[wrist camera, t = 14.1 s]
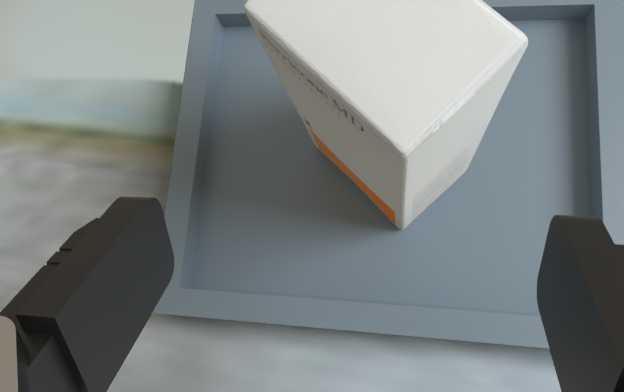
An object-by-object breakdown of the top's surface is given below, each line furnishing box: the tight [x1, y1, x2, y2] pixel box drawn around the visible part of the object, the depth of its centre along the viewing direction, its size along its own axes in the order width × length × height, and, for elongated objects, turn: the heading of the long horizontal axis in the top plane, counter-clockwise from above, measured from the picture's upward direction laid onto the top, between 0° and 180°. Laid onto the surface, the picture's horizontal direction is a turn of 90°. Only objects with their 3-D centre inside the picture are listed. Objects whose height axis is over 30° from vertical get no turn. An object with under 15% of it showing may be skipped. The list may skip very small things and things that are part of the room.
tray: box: [152, 0, 624, 349], centre depth 24 cm, size 20×16×2 cm
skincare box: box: [243, 0, 528, 230], centre depth 18 cm, size 6×4×12 cm
